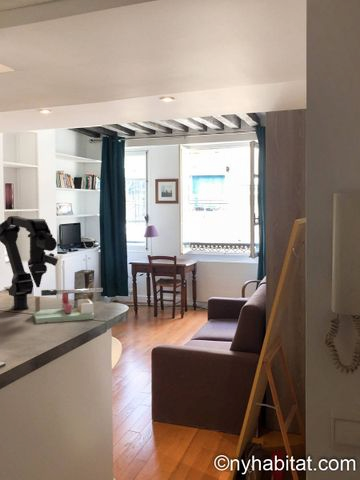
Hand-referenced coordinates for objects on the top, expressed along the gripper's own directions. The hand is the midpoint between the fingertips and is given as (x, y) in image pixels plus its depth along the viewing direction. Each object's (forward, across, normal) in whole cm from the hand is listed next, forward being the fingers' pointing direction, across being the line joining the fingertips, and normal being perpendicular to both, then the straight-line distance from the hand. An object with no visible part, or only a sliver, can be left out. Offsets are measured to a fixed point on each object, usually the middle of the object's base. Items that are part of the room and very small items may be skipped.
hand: (37, 285), depth 189 cm
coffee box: (+13, +10, -22) cm, 27 cm away
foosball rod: (+10, -6, -15) cm, 19 cm away
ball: (+10, -8, -18) cm, 22 cm away
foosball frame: (+12, -8, -10) cm, 18 cm away
